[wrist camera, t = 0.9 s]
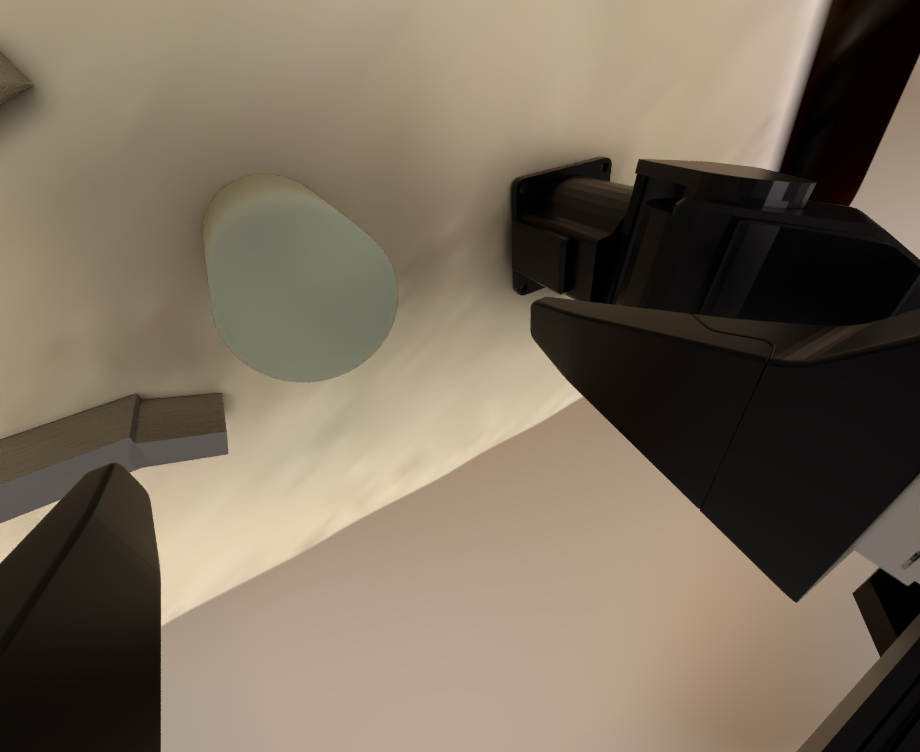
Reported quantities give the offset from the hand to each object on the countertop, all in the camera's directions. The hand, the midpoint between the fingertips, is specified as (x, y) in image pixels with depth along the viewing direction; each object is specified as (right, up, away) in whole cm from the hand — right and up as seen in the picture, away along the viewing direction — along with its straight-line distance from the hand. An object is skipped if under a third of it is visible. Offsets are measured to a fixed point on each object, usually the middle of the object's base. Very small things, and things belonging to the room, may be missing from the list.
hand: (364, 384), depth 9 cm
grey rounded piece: (-6, +6, +8) cm, 11 cm away
